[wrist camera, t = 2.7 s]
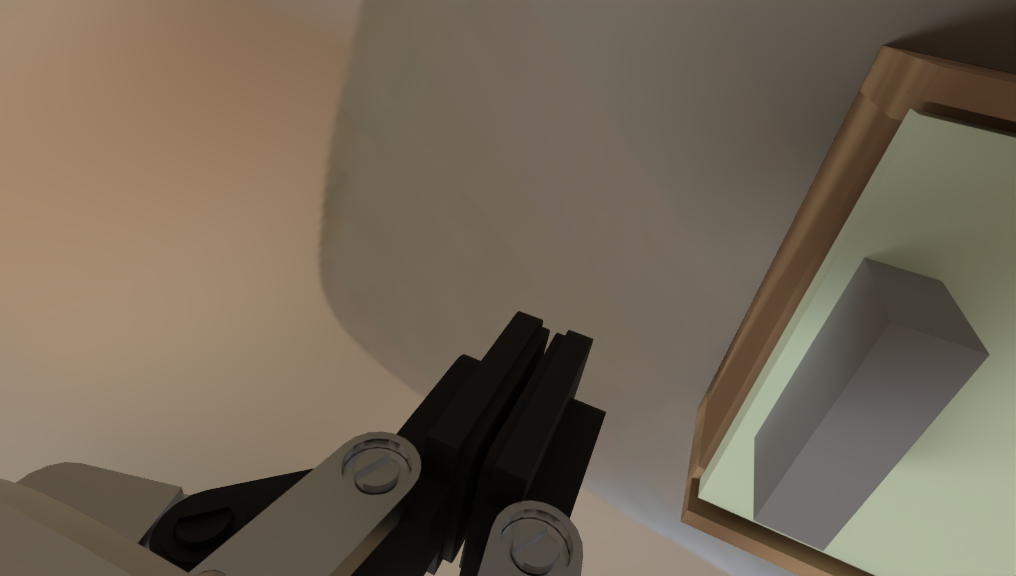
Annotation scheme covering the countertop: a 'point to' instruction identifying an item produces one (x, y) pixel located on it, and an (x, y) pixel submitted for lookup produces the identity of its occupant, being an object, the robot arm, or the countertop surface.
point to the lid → (897, 373)
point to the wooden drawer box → (802, 252)
